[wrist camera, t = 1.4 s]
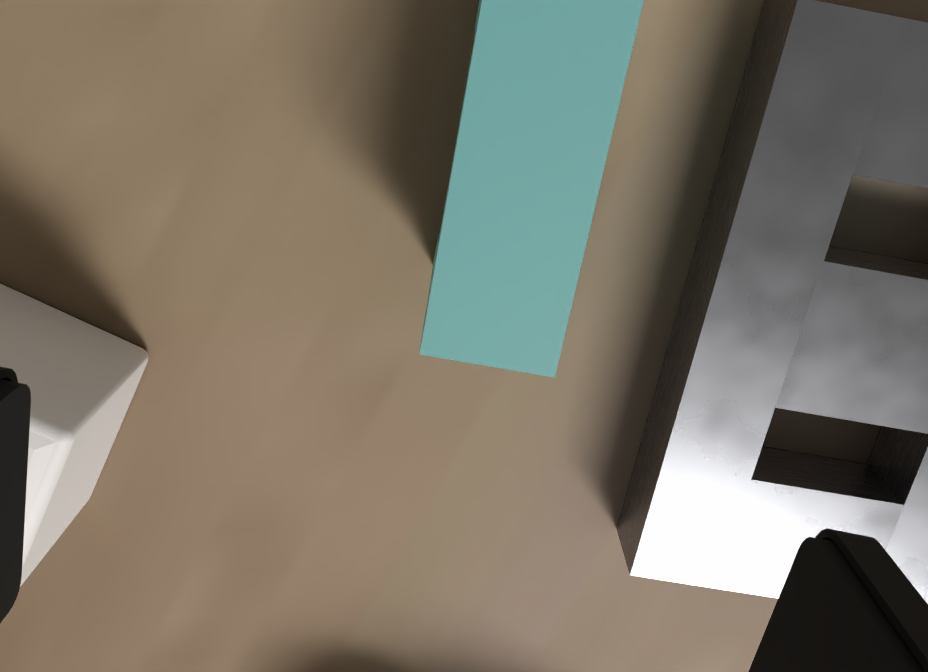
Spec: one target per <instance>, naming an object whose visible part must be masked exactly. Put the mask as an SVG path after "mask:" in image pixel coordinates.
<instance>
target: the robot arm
mask: <svg viewBox="0 0 928 672" xmlns="http://www.w3.org/2000/svg"><path fill="white" fill-rule="evenodd" d="M30 410H31V392H30V388H29V386H28V385H27V384H22V383H18V379H17V376H16V373H15V372H14V370H13V369H10V368H5V367H0V623H1V622H2V620H3V619H4V618H5V616H6V615H7V614H8V612H9V611H10V609H11V608H12V606H13V604H14V602H15V600H16V597H17V595H18V592H19V588H20V584H21V577H22V561H23V542H24V523H25V504H26V485H27V466H28V447H29V429H30ZM749 672H928V604H927V603H926V601H925V600H924V599H923V598H922V596H921V595H920V594H919V592H918V591H917V590H916V589H915V587H914V586H913V585H912V584H911V582H910V581H909V580H908V578H907V577H906V576H905V575H904V573H903V572H902V571H901V569H900V568H899V567H898V566H897V564H896V563H895V562H894V561H893V559H892V558H891V557H890V555H889V554H888V553H887V552H886V550H885V549H884V548H883V547H882V545H881V544H880V543H879V542H878V541H877V540H876V539H875V538H874V537H869V536H864V535H859V534H853V533H848V532H843V531H838V530H833V529H828V528H826V529H824V530H821V531H820V532H819V533H818V534H817V535H816V537H815V538H813V537H808V538H806V539H805V540H804V541H803V542H802V543H801V545H800V547H799V549H798V552H797V554H796V556H795V559H794V561H793V564H792V566H791V569H790V571H789V574H788V576H787V579H786V581H785V584H784V586H783V588H782V591H781V593H780V596H779V598H778V601H777V603H776V606H775V608H774V611H773V613H772V616H771V618H770V620H769V623H768V625H767V628H766V630H765V633H764V635H763V638H762V640H761V643H760V645H759V648H758V650H757V652H756V655H755V657H754V660H753V662H752V665H751V667H750V670H749Z"/></svg>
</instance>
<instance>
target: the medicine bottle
mask: <svg viewBox="0 0 928 672" xmlns="http://www.w3.org/2000/svg"><path fill="white" fill-rule="evenodd" d="M147 362H148V353H147V351H146V350H144V349H143V348H141V347H139V346H136V345H134V344H132V343H130V342H128V341H125V340H123V339H121V338H119V337H117V336H114V335H112V334H110V333H108V332H106V331H103V330H101V329H99V328H97V327H95V326H93V325H90V324H88V323H86V322H84V321H82V320H79V319H77V318H75V317H73V316H71V315H68V314H66V313H64V312H62V311H60V310H57V309H55V308H53V307H51V306H49V305H46V304H44V303H42V302H40V301H38V300H36V299H33V298H31V297H29V296H27V295H25V294H22V293H20V292H18V291H16V290H14V289H11V288H9V287H7V286H5V285H3V284H0V367H5V368H10V369H13V370H14V372H15V373H16V376H17V379H18V383H22V384H27V385H28V386H29V388H30V392H31V410H30V429H29V447H28V466H27V485H26V504H25V523H24V542H23V561H22V577H21V584H20V587H21V585H22V584H23V583H24V581H25V580H26V579H27V578H28V576H29V575H30V574H31V573H32V571H33V570H34V569H35V567H36V566H37V565H38V564H39V562H40V561H41V560H42V558H43V557H44V556H45V555H46V553H47V552H48V551H49V550H50V548H51V547H52V546H53V544H54V543H55V542H56V541H57V539H58V538H59V537H60V536H61V534H62V533H63V532H64V530H65V529H66V528H67V527H68V525H69V524H70V523H71V521H72V520H73V519H74V518H75V516H76V515H77V514H78V513H79V511H80V510H81V509H82V507H83V506H84V505H85V504H86V502H87V501H88V500H89V499H90V497H91V494H92V492H93V490H94V487H95V485H96V482H97V480H98V478H99V475H100V473H101V471H102V468H103V466H104V464H105V461H106V459H107V457H108V454H109V452H110V449H111V447H112V445H113V442H114V440H115V438H116V435H117V433H118V431H119V428H120V426H121V424H122V421H123V419H124V416H125V414H126V412H127V409H128V407H129V405H130V402H131V400H132V398H133V395H134V393H135V390H136V388H137V386H138V383H139V381H140V379H141V376H142V374H143V372H144V369H145V367H146V365H147Z"/></svg>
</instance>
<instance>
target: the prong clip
mask: <svg viewBox="0 0 928 672" xmlns="http://www.w3.org/2000/svg"><path fill="white" fill-rule="evenodd" d="M643 1H644V0H479V5H478V11H477V16H476V22H475V28H474V31H475V36H474V42H473V48H472V53H471V59H470V65H469V70H468V76H467V82H466V87H465V93H464V99H463V104H462V110H461V116H460V121H459V127H458V133H457V138H456V144H455V150H454V155H453V161H452V167H451V172H450V178H449V184H448V189H447V195H446V201H445V207H444V212H443V218H442V224H441V229H440V233H438V239H437V244H436V250H435V256H434V261H433V268H432V275H431V282H430V290H429V297H428V303H427V309H426V314H425V320H424V326H423V333H422V340H421V347H420V355H426V356H432V357H438V358H444V359H450V360H456V361H461V362H467V363H473V364H479V365H485V366H491V367H497V368H503V369H508V370H514V371H520V372H526V373H532V374H538V375H544V376H550V377H555V375H556V371H557V366H558V362H559V358H560V354H561V349H562V345H563V341H564V337H565V332H566V328H567V324H568V320H569V315H570V311H571V307H572V303H573V298H574V294H575V290H576V286H577V281H578V277H579V273H580V269H581V264H582V260H583V256H584V252H585V247H586V243H587V239H588V235H589V230H590V226H591V222H592V218H593V213H594V209H595V205H596V201H597V196H598V192H599V188H600V184H601V179H602V175H603V171H604V167H605V162H606V158H607V154H608V150H609V145H610V141H611V137H612V133H613V128H614V124H615V120H616V116H617V111H618V107H619V103H620V99H621V94H622V90H623V86H624V82H625V78H626V73H627V69H628V65H629V61H630V56H631V52H632V48H633V44H634V39H635V35H636V31H637V27H638V22H639V18H640V14H641V10H642V5H643Z"/></svg>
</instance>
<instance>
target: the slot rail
mask: <svg viewBox="0 0 928 672" xmlns="http://www.w3.org/2000/svg"><path fill="white" fill-rule="evenodd" d="M852 175H858V176H863V177H869V178H874V179H879V180H885V181H890V182H895V183H901V184H906V185H911V186H917V187H922V188H927V189H928V23H927V22H922V21H917V20H912V19H907V18H902V17H897V16H892V15H887V14H882V13H877V12H872V11H867V10H862V9H857V8H852V7H847V6H842V5H837V4H832V3H827V2H822V1H817V0H765V2H764V6H763V9H762V13H761V16H760V20H759V23H758V27H757V31H756V34H755V38H754V41H753V45H752V49H751V52H750V56H749V59H748V63H747V66H746V70H745V74H744V77H743V81H742V84H741V88H740V91H739V95H738V99H737V102H736V106H735V109H734V113H733V116H732V120H731V124H730V127H729V131H728V134H727V138H726V141H725V145H724V149H723V152H722V156H721V159H720V163H719V167H718V170H717V174H716V177H715V181H714V184H713V188H712V192H711V195H710V199H709V202H708V206H707V209H706V213H705V217H704V220H703V224H702V227H701V231H700V234H699V238H698V242H697V245H696V249H695V252H694V256H693V259H692V263H691V267H690V270H689V274H688V277H687V281H686V285H685V288H684V292H683V295H682V299H681V302H680V306H679V310H678V313H677V317H676V320H675V324H674V327H673V331H672V335H671V338H670V342H669V345H668V349H667V352H666V356H665V360H664V363H663V367H662V370H661V374H660V377H659V381H658V385H657V388H656V392H655V395H654V399H653V403H652V406H651V410H650V413H649V417H648V420H647V424H646V428H645V431H644V435H643V438H642V442H641V445H640V449H639V453H638V456H637V460H636V463H635V467H634V470H633V474H632V478H631V481H630V485H629V488H628V492H627V495H626V499H625V503H624V506H623V510H622V513H621V517H620V521H619V524H618V528H617V532H618V536H619V539H620V542H621V546H622V549H623V553H624V556H625V560H626V563H627V566H628V570H629V573H630V575H632V576H638V577H645V578H651V579H657V580H664V581H670V582H676V583H683V584H689V585H695V586H702V587H708V588H714V589H721V590H727V591H733V592H740V593H746V594H752V595H759V596H765V597H771V598H779V596H780V593H781V591H782V588H783V586H784V584H785V581H786V579H787V576H788V574H789V571H790V569H791V566H792V564H793V561H794V559H795V556H796V554H797V552H798V549H799V547H800V545H801V543H802V542H803V541H804V540H805V539H806V538H808V537H813V538H815V537H816V535H817V534H818V533H819V532H820V531H821V530H824V529H826V528H828V529H833V530H838V531H843V532H848V533H853V534H859V535H864V536H869V537H874V538H875V539H876V540H877V541H878V542H879V543H880V544H881V545H882V547H883V548H884V549H885V550H886V552H887V553H888V554H889V555H890V557H891V558H892V559H893V561H894V562H895V563H896V564H897V566H898V567H899V568H900V569H901V571H902V572H903V573H904V575H905V576H906V577H907V578H908V580H909V581H910V582H911V584H912V585H913V586H914V587H915V589H916V590H917V591H918V592H919V594H920V595H921V596H922V598H923V599H924V600H925V601H926V603H927V604H928V264H926V263H921V262H915V261H910V260H904V259H899V258H893V257H888V256H882V255H877V254H871V253H866V252H860V251H855V250H850V249H844V248H839V247H833V246H829V244H830V241H831V238H832V235H833V232H834V229H835V226H836V223H837V220H838V217H839V214H840V211H841V208H842V205H843V202H844V199H845V196H846V193H847V190H848V187H849V184H850V181H851V178H852ZM775 408H780V409H786V410H792V411H798V412H804V413H809V414H815V415H821V416H827V417H833V418H839V419H844V420H850V421H856V422H862V423H868V424H874V425H880V426H882V428H881V431H880V433H879V436H878V439H877V441H876V444H875V447H874V449H873V452H872V454H871V457H870V460H869V462H868V464H864V463H858V462H852V461H846V460H840V459H834V458H828V457H822V456H816V455H810V454H804V453H798V452H792V451H786V450H780V449H774V448H768V447H762V446H763V443H764V440H765V437H766V434H767V431H768V428H769V425H770V422H771V419H772V416H773V413H774V410H775Z"/></svg>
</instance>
